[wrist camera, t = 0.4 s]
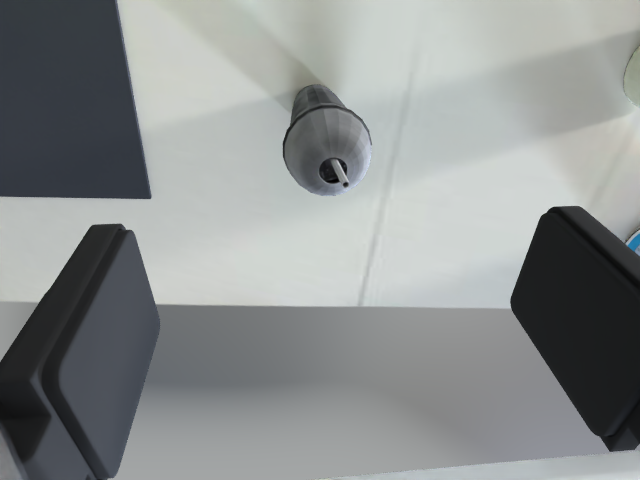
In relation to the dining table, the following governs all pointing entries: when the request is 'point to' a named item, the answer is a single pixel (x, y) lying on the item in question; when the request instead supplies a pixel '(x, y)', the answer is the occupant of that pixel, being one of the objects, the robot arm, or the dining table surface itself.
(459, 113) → the dining table surface
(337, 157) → the beverage cup
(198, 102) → the dining table surface
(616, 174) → the dining table surface
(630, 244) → the beverage bottle
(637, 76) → the reusable coffee cup
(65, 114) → the placemat
